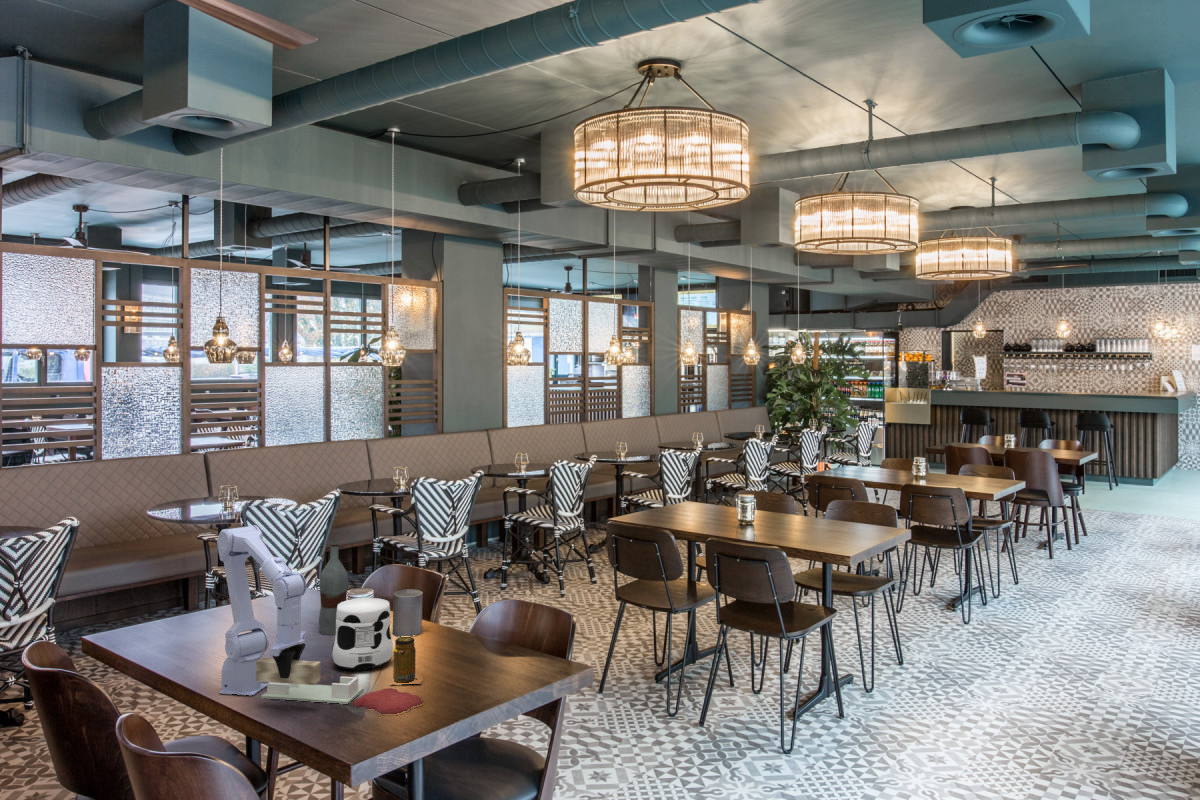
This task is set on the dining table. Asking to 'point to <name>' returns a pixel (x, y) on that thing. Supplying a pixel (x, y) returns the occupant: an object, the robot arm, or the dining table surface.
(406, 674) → the condiment
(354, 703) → the patty
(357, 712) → the dining table surface
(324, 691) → the cap board
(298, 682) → the slat
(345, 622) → the milk container
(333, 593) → the bottle
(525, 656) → the dining table surface
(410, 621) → the pillar candle
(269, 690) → the end caps
